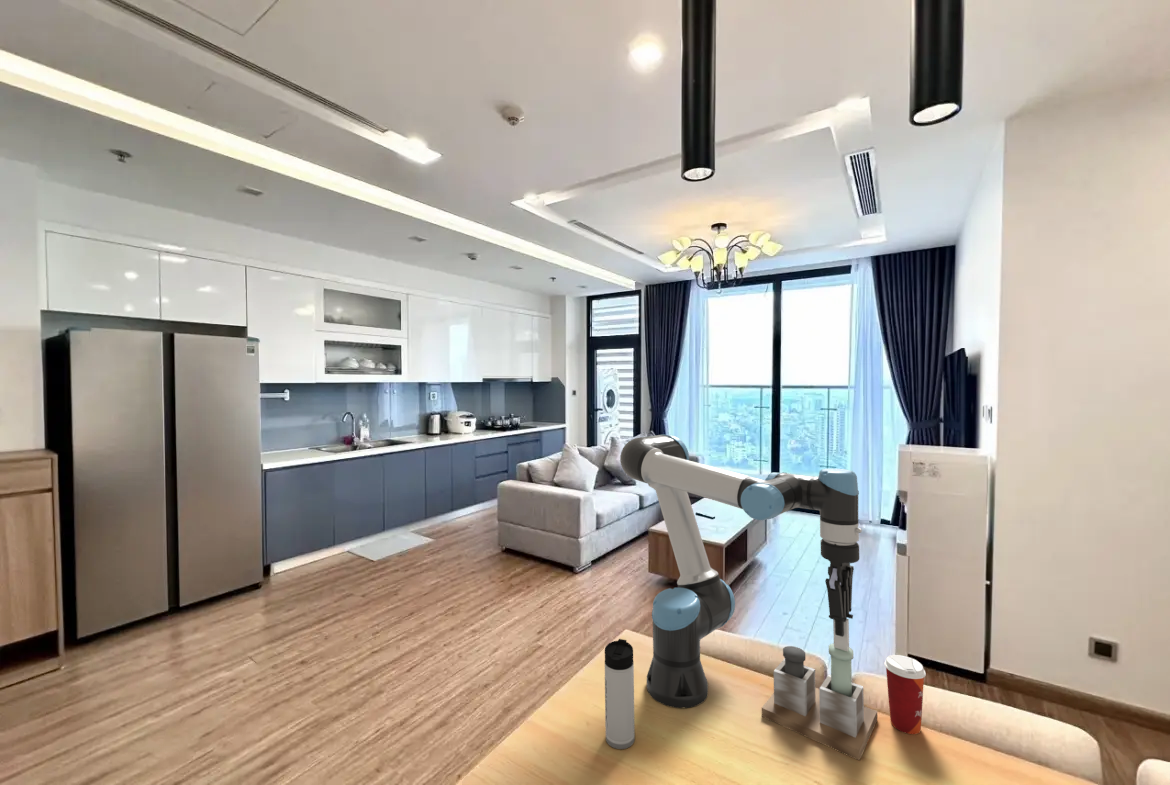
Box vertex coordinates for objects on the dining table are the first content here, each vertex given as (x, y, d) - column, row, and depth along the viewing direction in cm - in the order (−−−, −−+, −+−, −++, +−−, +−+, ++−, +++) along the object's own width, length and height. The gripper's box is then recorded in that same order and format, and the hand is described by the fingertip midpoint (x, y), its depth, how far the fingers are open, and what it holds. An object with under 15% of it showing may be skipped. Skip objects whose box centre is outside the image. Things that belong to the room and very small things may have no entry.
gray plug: (780, 700, 112) (779, 652, 112) (787, 690, 115) (787, 644, 115) (802, 709, 109) (801, 659, 109) (808, 698, 112) (808, 651, 112)
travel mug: (637, 731, 106) (636, 641, 106) (630, 752, 100) (629, 656, 100) (610, 725, 108) (609, 636, 108) (601, 746, 102) (600, 651, 102)
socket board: (761, 716, 110) (761, 675, 110) (787, 684, 122) (786, 647, 122) (859, 760, 97) (858, 713, 97) (877, 719, 109) (876, 677, 109)
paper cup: (933, 740, 102) (932, 674, 102) (893, 735, 104) (892, 670, 104) (916, 715, 110) (915, 654, 110) (879, 711, 111) (878, 651, 111)
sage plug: (826, 700, 105) (825, 649, 105) (832, 690, 109) (832, 641, 109) (850, 710, 102) (850, 657, 102) (856, 699, 105) (855, 648, 105)
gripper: (850, 551, 98) (852, 667, 98) (866, 536, 108) (868, 642, 107) (811, 544, 103) (813, 654, 103) (829, 530, 113) (831, 631, 113)
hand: (841, 648), depth 105 cm, fingers closed
